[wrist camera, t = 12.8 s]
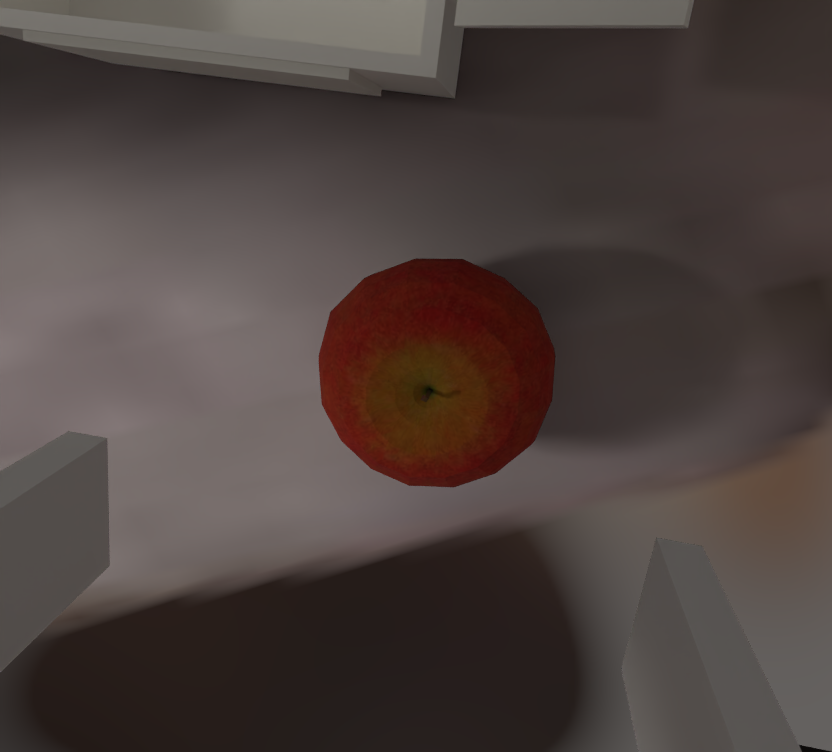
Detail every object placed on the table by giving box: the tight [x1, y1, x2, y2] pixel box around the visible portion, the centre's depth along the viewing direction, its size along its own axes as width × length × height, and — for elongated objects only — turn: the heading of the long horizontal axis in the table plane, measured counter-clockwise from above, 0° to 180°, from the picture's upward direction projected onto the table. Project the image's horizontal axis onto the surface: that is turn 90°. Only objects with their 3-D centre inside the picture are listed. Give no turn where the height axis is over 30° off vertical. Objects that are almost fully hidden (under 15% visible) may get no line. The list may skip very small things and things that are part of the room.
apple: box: [319, 259, 555, 487], centre depth 23 cm, size 8×8×8 cm
